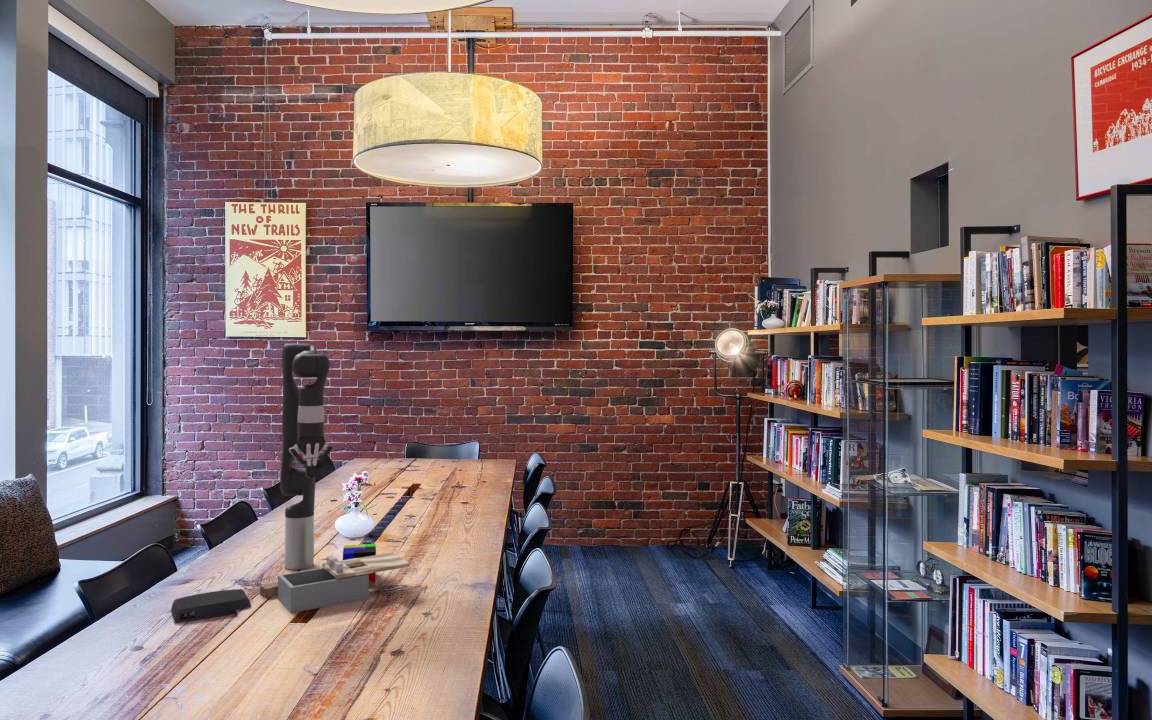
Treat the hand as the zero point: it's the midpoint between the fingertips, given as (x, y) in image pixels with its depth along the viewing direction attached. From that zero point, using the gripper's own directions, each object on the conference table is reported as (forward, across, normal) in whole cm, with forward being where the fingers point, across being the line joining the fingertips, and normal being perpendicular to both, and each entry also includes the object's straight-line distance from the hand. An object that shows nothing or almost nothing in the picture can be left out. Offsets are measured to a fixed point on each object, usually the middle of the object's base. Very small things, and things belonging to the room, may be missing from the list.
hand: (310, 477), depth 225 cm
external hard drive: (+36, -27, 0) cm, 45 cm away
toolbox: (+35, +1, -10) cm, 36 cm away
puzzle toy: (+35, +17, +5) cm, 39 cm away
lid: (+27, +14, -10) cm, 32 cm away
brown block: (+33, -13, +2) cm, 36 cm away
